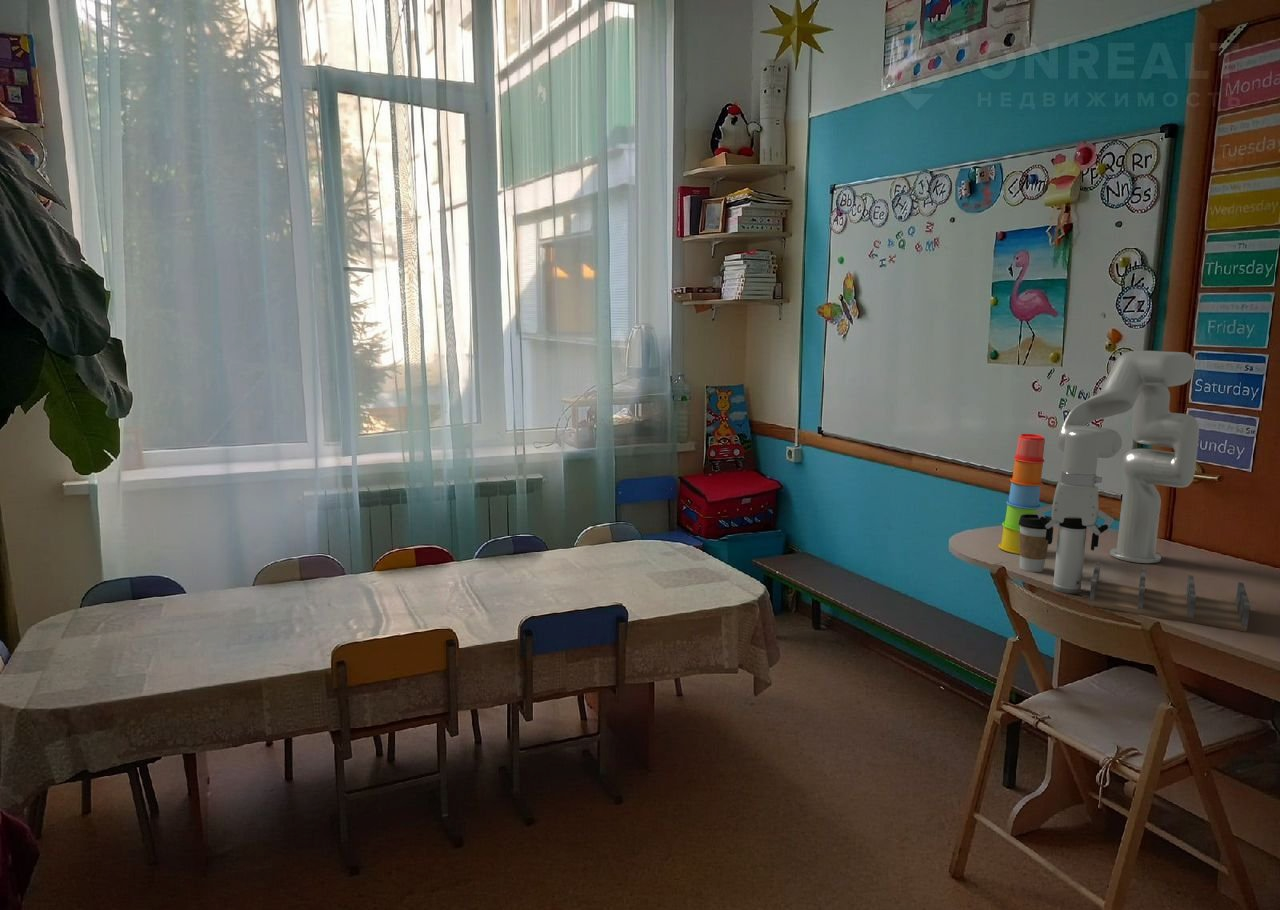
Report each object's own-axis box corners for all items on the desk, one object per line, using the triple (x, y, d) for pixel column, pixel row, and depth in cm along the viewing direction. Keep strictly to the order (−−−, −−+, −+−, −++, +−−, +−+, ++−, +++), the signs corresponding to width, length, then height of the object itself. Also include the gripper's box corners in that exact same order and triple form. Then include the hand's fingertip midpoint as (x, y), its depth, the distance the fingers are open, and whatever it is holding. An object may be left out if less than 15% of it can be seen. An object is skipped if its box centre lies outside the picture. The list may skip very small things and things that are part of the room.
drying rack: (1093, 584, 216) (1096, 561, 215) (1239, 607, 200) (1243, 582, 199) (1088, 605, 201) (1091, 580, 200) (1246, 631, 185) (1250, 605, 184)
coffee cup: (1036, 575, 223) (1041, 521, 221) (1008, 567, 230) (1012, 514, 228) (1054, 570, 228) (1060, 517, 225) (1026, 562, 235) (1031, 510, 232)
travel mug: (1085, 594, 208) (1093, 517, 205) (1056, 592, 210) (1064, 515, 206) (1077, 586, 214) (1085, 511, 211) (1049, 584, 216) (1057, 509, 212)
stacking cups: (1030, 545, 251) (1040, 432, 245) (1040, 555, 241) (1051, 437, 235) (994, 544, 253) (1004, 431, 247) (1003, 553, 243) (1012, 436, 237)
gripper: (1118, 481, 206) (1110, 548, 209) (1041, 473, 215) (1035, 537, 217) (1117, 486, 199) (1109, 555, 202) (1038, 477, 208) (1031, 544, 211)
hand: (1071, 546), depth 210 cm, fingers open, 9 cm apart
